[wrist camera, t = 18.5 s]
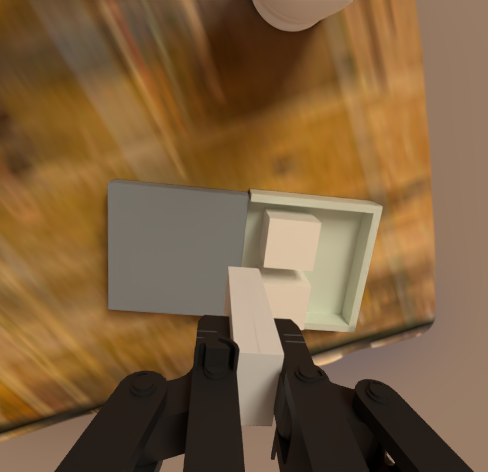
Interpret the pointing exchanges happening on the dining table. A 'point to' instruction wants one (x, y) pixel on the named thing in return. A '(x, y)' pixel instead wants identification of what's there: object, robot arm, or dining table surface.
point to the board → (172, 246)
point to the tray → (324, 252)
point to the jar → (297, 12)
